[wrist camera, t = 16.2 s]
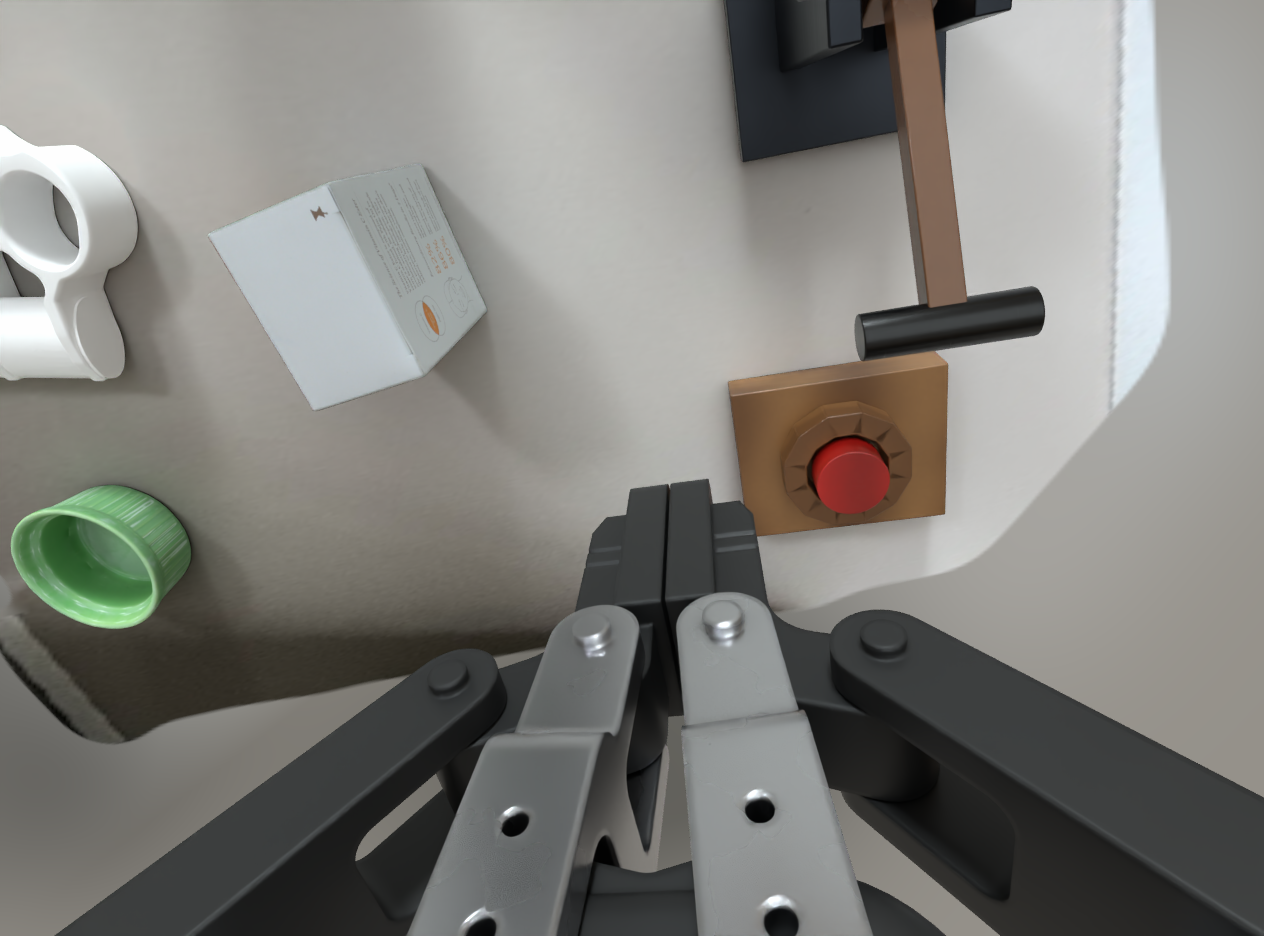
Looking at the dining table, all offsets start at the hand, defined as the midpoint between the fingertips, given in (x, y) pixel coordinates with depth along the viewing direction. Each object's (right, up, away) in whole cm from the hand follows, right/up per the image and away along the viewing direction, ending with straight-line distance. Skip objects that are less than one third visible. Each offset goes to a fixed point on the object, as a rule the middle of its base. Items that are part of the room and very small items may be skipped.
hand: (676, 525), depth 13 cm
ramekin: (-34, -3, +33) cm, 48 cm away
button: (+10, +1, +23) cm, 25 cm away
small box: (-13, +12, +23) cm, 29 cm away
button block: (+11, +3, +26) cm, 28 cm away
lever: (+8, +11, +8) cm, 16 cm away
